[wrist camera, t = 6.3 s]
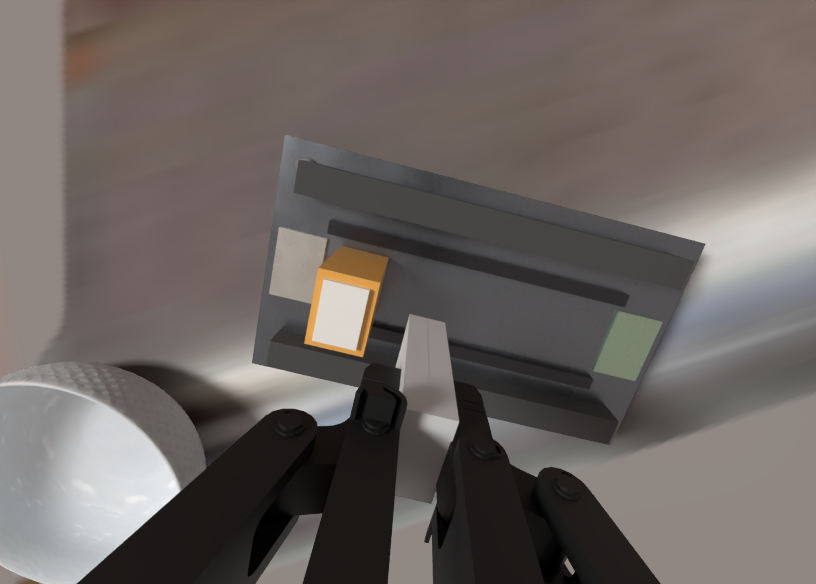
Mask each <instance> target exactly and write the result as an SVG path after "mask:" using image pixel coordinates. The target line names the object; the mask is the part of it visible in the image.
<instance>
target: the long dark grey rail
mask: <svg viewBox="0 0 816 584" xmlns="http://www.w3.org/2000/svg"><path fill="white" fill-rule="evenodd" d="M293 193H296V194H300V195H304V196H308V197H312V198H316V199H320V200H324V201H328V202H332V203H336V204H340V205H344V206H347V207H351V208H355V209H359V210H363V211H367V212H371V213H375V214H379V215H383V216H387V217H391V218H395V219H399V220H403V221H407V222H411V223H415V224H419V225H423V226H427V227H431V228H435V229H439V230H443V231H447V232H451V233H454V234H458V235H462V236H466V237H470V238H474V239H478V240H482V241H486V242H490V243H494V244H498V245H502V246H506V247H510V248H514V249H518V250H522V251H526V252H530V253H534V254H538V255H542V256H546V257H550V258H554V259H558V260H562V261H565V262H569V263H573V264H577V265H581V266H585V267H589V268H593V269H597V270H601V271H605V272H609V273H613V274H617V275H621V276H625V277H629V278H633V279H637V280H641V281H645V282H649V283H653V284H657V285H661V286H665V287H669V288H672V289H676V290H680V291H681V289H682V287H683V285H684V283H685V281H686V279H687V277H688V275H689V272H690V270H691V268H692V266H693V264H694V262H695V261H692V260H689V259H685V258H682V257H679V256H676V255H672V254H668V253H664V252H660V251H656V250H653V249H649V248H645V247H641V246H637V245H633V244H629V243H625V242H621V241H618V240H614V239H610V238H606V237H602V236H598V235H594V234H590V233H586V232H582V231H579V230H575V229H571V228H567V227H563V226H559V225H555V224H551V223H547V222H544V221H540V220H536V219H532V218H528V217H524V216H520V215H516V214H512V213H508V212H505V211H501V210H497V209H493V208H489V207H485V206H481V205H477V204H473V203H470V202H466V201H462V200H458V199H454V198H450V197H446V196H442V195H438V194H435V193H431V192H427V191H423V190H419V189H415V188H411V187H407V186H403V185H399V184H396V183H392V182H388V181H384V180H380V179H376V178H372V177H368V176H364V175H361V174H357V173H353V172H349V171H345V170H341V169H337V168H333V167H329V166H326V165H322V164H318V163H313V162H309V161H305V160H298V167H297V173H296V180H295V186H294V192H293Z"/></svg>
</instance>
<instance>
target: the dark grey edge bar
mask: <svg viewBox="0 0 816 584" xmlns="http://www.w3.org/2000/svg"><path fill="white" fill-rule="evenodd" d="M304 342H305V336H304V335H300V334H295V333H291V332H287V331H283V330H279V331H278V333H277V334H276V335H275V336H274V337H273V338H272V339H271V340H270V345H269V351H268V358H267V364H266V366H268V367H272V368H276V369H281V370H285V371H290V372H294V373H298V374H303V375H307V376H311V377H316V378H320V379H324V380H329V381H333V382H337V383H342V384H346V385H351V386H355V387H360V385H361V381H362V378H363V374H364V371H365V368H366V367H368V366H369V365H370V364H372V363H373V362H374V363H378V364H382V365H386V366H391V367H396V364H397V360H398V357H393V356H389V355H385V354H381V353H376V352H372V351H368V350H365V352H364V355H363V357H360V356H355V355H351V354H347V353H342V352H338V351H334V350H330V349H325V348H321V347H317V346H312V345H308V344H304ZM452 375H453V380H454V381H458V382H463V383H467V384H471V385H474V386H475V388H476V389H477V390H478V391H479V393H480V394H481V395H482V399H483V403H484V407H485V411H486V415H487V417H490V418H494V419H499V420H503V421H507V422H512V423H516V424H521V425H525V426H529V427H534V428H538V429H542V430H547V431H551V432H555V433H560V434H564V435H568V436H573V437H577V438H582V439H586V440H590V441H595V442H599V443H603V444H608V445H609V443H610V440H611V438H612V436H613V434H614V432H615V430H616V428H617V426H618V423H619V421H618V420H617V419H616V418H615V416H614V415H613V414H612V413H611V412H610V410H609V409H608V408H607V407H606V406H602V405H598V404H594V403H590V402H585V401H581V400H577V399H573V398H568V397H564V396H560V395H556V394H551V393H547V392H543V391H538V390H534V389H530V388H526V387H521V386H517V385H513V384H509V383H504V382H500V381H496V380H492V379H487V378H483V377H479V376H474V375H470V374H466V373H462V372H457V371H453V370H452Z"/></svg>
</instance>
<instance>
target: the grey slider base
mask: <svg viewBox="0 0 816 584" xmlns="http://www.w3.org/2000/svg"><path fill="white" fill-rule="evenodd" d="M298 160H305V161H309V162H313V163H318V164H322V165H326V166H329V167H333V168H337V169H341V170H345V171H349V172H353V173H357V174H361V175H364V176H368V177H372V178H376V179H380V180H384V181H388V182H392V183H396V184H399V185H403V186H407V187H411V188H415V189H419V190H423V191H427V192H431V193H435V194H438V195H442V196H446V197H450V198H454V199H458V200H462V201H466V202H470V203H473V204H477V205H481V206H485V207H489V208H493V209H497V210H501V211H505V212H508V213H512V214H516V215H520V216H524V217H528V218H532V219H536V220H540V221H544V222H547V223H551V224H555V225H559V226H563V227H567V228H571V229H575V230H579V231H582V232H586V233H590V234H594V235H598V236H602V237H606V238H610V239H614V240H618V241H621V242H625V243H629V244H633V245H637V246H641V247H645V248H649V249H653V250H656V251H660V252H664V253H668V254H672V255H676V256H679V257H682V258H685V259H689V260H692V261H695V262H694V264H693V266H692V268H691V270H690V272H689V275H688V277H687V279H686V281H685V283H684V285H683V287H682V289H681V291H680V290H676V289H672V288H669V287H665V286H661V285H657V284H653V283H649V282H645V281H641V280H637V279H633V278H629V277H625V276H621V275H617V274H613V273H609V272H605V271H601V270H597V269H593V268H589V267H585V266H581V265H577V264H573V263H569V262H565V261H562V260H558V259H554V258H550V257H546V256H542V255H538V254H534V253H530V252H526V251H522V250H518V249H514V248H510V247H506V246H502V245H498V244H494V243H490V242H486V241H482V240H478V239H474V238H470V237H466V236H462V235H458V234H454V233H451V232H447V231H443V230H439V229H435V228H431V227H427V226H423V225H419V224H415V223H411V222H407V221H403V220H399V219H395V218H391V217H387V216H383V215H379V214H375V213H371V212H367V211H363V210H359V209H355V208H351V207H347V206H344V205H340V204H336V203H332V202H328V201H324V200H320V199H316V198H312V197H308V196H304V195H300V194H296V193H293V192H294V186H295V180H296V173H297V167H298ZM341 246H345V247H349V248H353V249H357V250H361V251H365V252H369V253H373V254H377V255H381V256H385V257H389V259H388V264H387V268H386V272H385V276H384V280H383V285H382V289H381V293H380V297H379V301H378V306H377V310H376V314H375V318H374V321H373V325H372V328H371V331H370V335H369V338H368V342H367V345H366V348H365V350H368V351H372V352H376V353H381V354H385V355H389V356H393V357H398V356H399V352H400V349H401V345H402V341H403V337H404V333H405V330H406V326H407V322H408V318H409V315H410V314H412V315H416V316H420V317H424V318H429V319H433V320H437V321H441V322H445V326H446V333H447V340H448V347H449V354H450V361H451V368H452V370H453V371H457V372H462V373H466V374H470V375H474V376H479V377H483V378H487V379H492V380H496V381H500V382H504V383H509V384H513V385H517V386H521V387H526V388H530V389H534V390H538V391H543V392H547V393H551V394H556V395H560V396H564V397H568V398H573V399H577V400H581V401H585V402H590V403H594V404H598V405H602V406H606V407H607V408H608V409H609V410H610V412H611V413H612V414H613V415H614V416H615V418H616V419H617V420H618V421H619V423H618V426H617V428H616V430H615V432H614V434H613V436H612V438H611V440H610V443H609V445H611V443H612V441H613V439H614V437H615V435H616V433H617V430H618V428H619V426H620V424H621V422H622V420H623V418H624V416H625V414H626V411H627V409H628V407H629V405H630V403H631V401H632V399H633V397H634V394H635V392H636V390H637V388H638V386H639V384H640V382H641V380H642V378H643V375H644V373H645V371H646V369H647V367H648V365H649V363H650V361H651V358H652V356H653V354H654V352H655V350H656V348H657V346H658V344H659V342H660V339H661V337H662V335H663V333H664V331H665V329H666V327H667V325H668V322H669V320H670V318H671V316H672V314H673V312H674V310H675V308H676V306H677V303H678V301H679V299H680V297H681V295H682V293H683V291H684V289H685V286H686V284H687V282H688V280H689V278H690V276H691V274H692V272H693V270H694V267H695V265H696V263H697V261H698V259H699V257H700V255H701V253H702V250H703V248H704V246H705V244H704V243H700V242H696V241H693V240H689V239H685V238H681V237H677V236H673V235H669V234H666V233H662V232H658V231H654V230H650V229H646V228H642V227H639V226H635V225H631V224H627V223H623V222H619V221H615V220H612V219H608V218H604V217H600V216H596V215H592V214H588V213H585V212H581V211H577V210H573V209H569V208H565V207H562V206H558V205H554V204H550V203H546V202H542V201H538V200H535V199H531V198H527V197H523V196H519V195H515V194H511V193H508V192H504V191H500V190H496V189H492V188H488V187H484V186H481V185H477V184H473V183H469V182H465V181H461V180H457V179H454V178H450V177H446V176H442V175H438V174H434V173H430V172H427V171H423V170H419V169H415V168H411V167H407V166H403V165H400V164H396V163H392V162H388V161H384V160H380V159H376V158H373V157H369V156H365V155H361V154H357V153H353V152H350V151H346V150H342V149H338V148H334V147H330V146H326V145H323V144H319V143H315V142H311V141H307V140H303V139H299V138H296V137H292V136H288V135H285V139H284V146H283V153H282V160H281V167H280V174H279V181H278V187H277V194H276V201H275V208H274V215H273V222H272V229H271V236H270V243H269V249H268V256H267V263H266V270H265V277H264V284H263V291H262V298H261V304H260V311H259V318H258V325H257V332H256V339H255V346H254V353H253V360H252V363H254V364H259V365H263V366H266V364H267V358H268V351H269V345H270V340H271V339H272V338H273V337H274V336H275V335H276V334H277V333H278V331H279V330H283V331H287V332H291V333H295V334H300V335H304V336H306V331H307V326H308V320H309V315H310V309H311V304H312V299H313V293H314V288H315V282H316V277H317V272H318V267H320V266H321V265H322V264H323V263H324V262H325V261H326V260H327V259H328V258H329V257H330V256H331V255H332V254H333V253H334V252H336V251H337V250H338V249H339V248H340V247H341ZM267 367H268V366H267ZM289 372H290V371H289ZM302 375H303V374H302ZM315 378H316V377H315ZM328 381H329V380H328ZM350 386H351V385H350ZM520 425H521V424H520ZM533 428H534V427H533ZM546 431H547V430H546ZM581 439H582V438H581ZM594 442H595V441H594ZM607 445H608V444H607Z"/></svg>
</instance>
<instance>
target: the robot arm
mask: <svg viewBox="0 0 816 584" xmlns="http://www.w3.org/2000/svg"><path fill="white" fill-rule="evenodd" d="M435 491H436V492H437V504H436V507H435V510H434V513H433V515H432V518H431V521H430V524H429V527H428V530H427V533H426V536H425V541H424V542H426V543H429V540H430V537H431V535H432V553H433V554H432V555H433V584H660V582H659V581H658V580H657V578H656V577H655V576H654V574H653V573H652V572H651V571H650V569H649V568H648V566H647V565H646V564H645V563H644V561H643V560H642V559H641V557H640V556H639V555H638V553H637V552H636V551H635V550H634V548H633V547H632V545H631V544H630V543H629V541H628V540H627V539H626V537H625V536H624V535H623V533H622V532H621V531H620V530H619V528H618V527H617V526H616V524H615V523H614V522H613V520H612V519H611V518H610V517H609V515H608V514H607V512H606V511H605V510H604V508H603V507H602V506H601V505H600V503H599V502H598V500H597V499H596V498H595V497H594V495H593V494H592V493H591V491H590V490H589V489H588V488H587V487H586V485H585V484H584V483H583V482H582V481H581V480H579V479H578V478H576V477H575V476H574V475H572V474H571V473H569V472H566V471H564V470H562V469H558V468H554V467H549V468H544V469H543V470H541V471H540V472H539V475H538V477H535V476H533V475H531V474H529V473H526V472H524V471H522V470H520V469H518V468H516V467H515V466H513V465H511V464H510V462H509V459H508V455H507V454H506V452H505V450H504V448H503V447H502V446H501V445H500V444H499V443H498V442H497V441H495V440H493V438H492V434H491V430H490V426H489V423H488V419H487V415H486V411H485V407H484V403H483V399H482V395H481V394H480V393H479V391H478V390H477V389H476V388H475V386H474V385H471V384H467V383H463V382H458V381H454V380H453V375H452V368H451V361H450V354H449V347H448V340H447V333H446V326H445V322H441V321H437V320H433V319H429V318H424V317H420V316H416V315H412V314H410V315H409V318H408V322H407V326H406V330H405V333H404V337H403V341H402V345H401V349H400V352H399V356H398V360H397V364H396V367H391V366H386V365H382V364H378V363H374V362H373V363H372V364H370V365H369V366H368V367H366V368H365V371H364V374H363V378H362V381H361V385H360V387H359V388H358V390H357V391H356V394H355V399H354V403H353V407H352V411H351V415H350V418H348V419H347V420H346V421H345V422H343V423H341V424H337V425H334V426H317V422H316V421H315V419H314V418H313V417H312V416H311V415H309V414H308V413H306V412H304V411H301V410H297V409H280V410H276V411H273V412H271V413H269V414H268V415H266V416H265V417H264V418H262V419H261V420H260V421H259V422H258V423H257V424H256V425H255V426H253V427H252V428H251V429H250V430H249V431H248V432H247V433H246V434H244V435H243V436H242V437H241V438H240V439H239V440H238V441H237V442H235V443H234V444H233V445H232V446H231V447H230V448H229V449H228V450H226V451H225V452H224V453H223V454H222V455H221V456H220V457H219V458H217V459H216V460H215V461H214V462H213V463H212V464H211V465H210V466H208V467H207V468H206V469H205V470H204V471H203V472H202V473H201V474H199V475H198V476H197V477H196V478H195V479H194V480H193V481H192V482H190V483H189V484H188V485H187V486H186V487H185V488H184V489H183V490H181V491H180V492H179V493H178V494H177V495H176V496H175V497H174V498H172V499H171V500H170V501H169V502H168V503H167V504H166V505H165V506H163V507H162V508H161V509H160V510H159V511H158V512H157V513H156V514H154V515H153V516H152V517H151V518H150V519H149V520H148V521H146V522H145V523H144V524H143V525H142V526H141V527H140V528H139V529H137V530H136V531H135V532H134V533H133V534H132V535H131V536H130V537H128V538H127V539H126V540H125V541H124V542H123V543H122V544H121V545H119V546H118V547H117V548H116V549H115V550H114V551H113V552H112V553H110V554H109V555H108V556H107V557H106V558H105V559H104V560H103V561H101V562H100V563H99V564H98V565H97V566H96V567H95V568H94V569H92V570H91V571H90V572H89V573H88V574H87V575H86V576H85V577H83V578H82V579H81V580H80V581H79V582H78V583H77V584H255V583H256V582H257V580H258V579H259V577H260V576H261V574H262V573H263V571H264V570H265V569H266V567H267V566H268V564H269V563H270V561H271V560H272V558H273V557H274V555H275V554H276V552H277V551H278V549H279V548H280V546H281V545H282V543H283V542H284V540H285V539H286V537H287V536H288V534H289V533H290V531H291V530H292V528H293V527H294V525H295V524H296V522H297V520H298V518H299V516H300V515H307V514H319V513H323V514H322V518H321V521H320V525H319V528H318V532H317V535H316V539H315V542H314V546H313V549H312V553H311V556H310V560H309V563H308V567H307V571H306V574H305V577H304V581H303V584H388V572H389V560H390V548H391V536H392V523H393V511H394V499H395V496H399V497H404V498H408V499H413V500H417V501H421V502H426V503H430V504H431V503H432V500H433V497H434V494H435ZM566 558H568V560H569V562H570V563H571V565H572V567H573V569H574V570H575V573H574V574H573V575H572V574H571V573H570V572H569V570H568V569H567V567H566V565H565V564H564V563H565V561H566Z"/></svg>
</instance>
